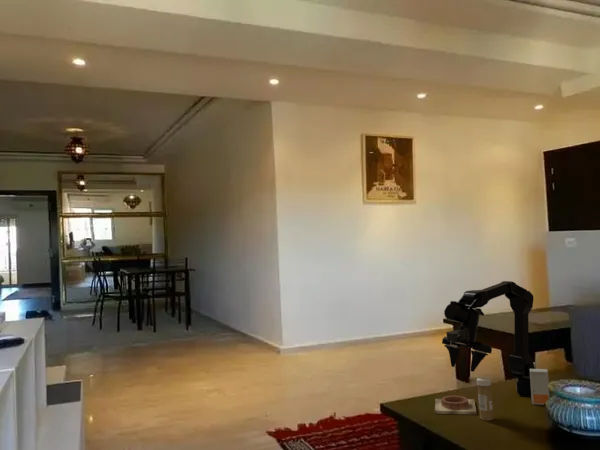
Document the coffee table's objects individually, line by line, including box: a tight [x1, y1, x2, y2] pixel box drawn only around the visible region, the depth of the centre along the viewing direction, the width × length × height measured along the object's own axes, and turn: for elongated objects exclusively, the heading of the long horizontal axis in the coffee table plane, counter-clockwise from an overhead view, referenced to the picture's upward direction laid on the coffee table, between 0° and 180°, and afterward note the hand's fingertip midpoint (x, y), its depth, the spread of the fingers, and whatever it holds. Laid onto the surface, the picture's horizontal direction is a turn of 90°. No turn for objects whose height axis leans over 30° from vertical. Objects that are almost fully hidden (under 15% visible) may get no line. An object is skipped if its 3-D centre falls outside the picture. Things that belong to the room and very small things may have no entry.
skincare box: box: [530, 368, 551, 406], centre depth 190 cm, size 6×4×12 cm
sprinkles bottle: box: [476, 376, 494, 422], centre depth 178 cm, size 5×5×13 cm
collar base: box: [434, 395, 478, 415], centre depth 191 cm, size 14×14×3 cm
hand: (462, 369), depth 186 cm, fingers open, 9 cm apart
